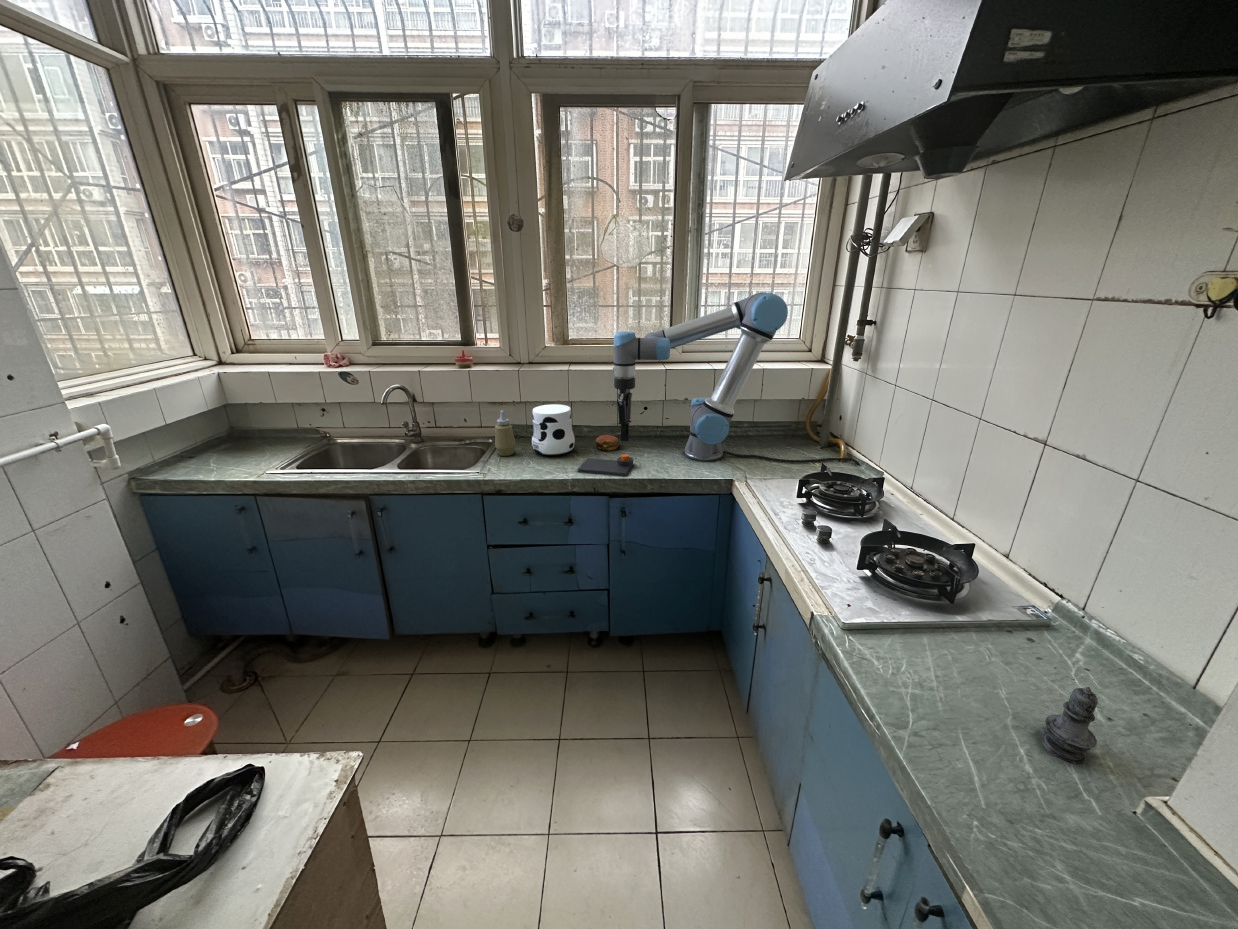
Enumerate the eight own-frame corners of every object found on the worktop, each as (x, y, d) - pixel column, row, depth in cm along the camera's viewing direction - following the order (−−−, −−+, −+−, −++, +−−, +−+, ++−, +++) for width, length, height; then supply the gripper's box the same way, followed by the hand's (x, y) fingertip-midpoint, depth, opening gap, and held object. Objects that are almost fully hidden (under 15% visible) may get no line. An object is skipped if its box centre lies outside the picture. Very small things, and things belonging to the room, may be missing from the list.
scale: (634, 464, 190) (634, 456, 189) (626, 476, 179) (626, 468, 178) (588, 460, 194) (588, 453, 193) (578, 472, 183) (577, 464, 182)
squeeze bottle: (519, 454, 201) (515, 411, 195) (500, 458, 197) (496, 414, 190) (511, 449, 207) (507, 407, 201) (493, 453, 203) (488, 410, 197)
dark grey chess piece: (1047, 758, 74) (1072, 696, 70) (1032, 726, 79) (1055, 667, 75) (1096, 771, 72) (1126, 708, 68) (1078, 738, 77) (1104, 678, 73)
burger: (613, 442, 214) (613, 432, 213) (622, 449, 206) (622, 438, 205) (592, 445, 211) (591, 435, 209) (600, 452, 203) (600, 441, 201)
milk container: (579, 445, 211) (578, 404, 204) (568, 460, 195) (566, 415, 188) (540, 443, 214) (537, 402, 207) (526, 457, 198) (523, 413, 191)
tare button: (630, 458, 188) (630, 454, 187) (628, 461, 185) (628, 457, 185) (622, 458, 189) (622, 453, 188) (620, 460, 186) (620, 456, 185)
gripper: (619, 373, 182) (619, 434, 191) (609, 380, 171) (610, 445, 179) (639, 373, 181) (638, 435, 189) (630, 381, 169) (630, 446, 177)
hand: (625, 440), depth 184 cm, fingers closed
